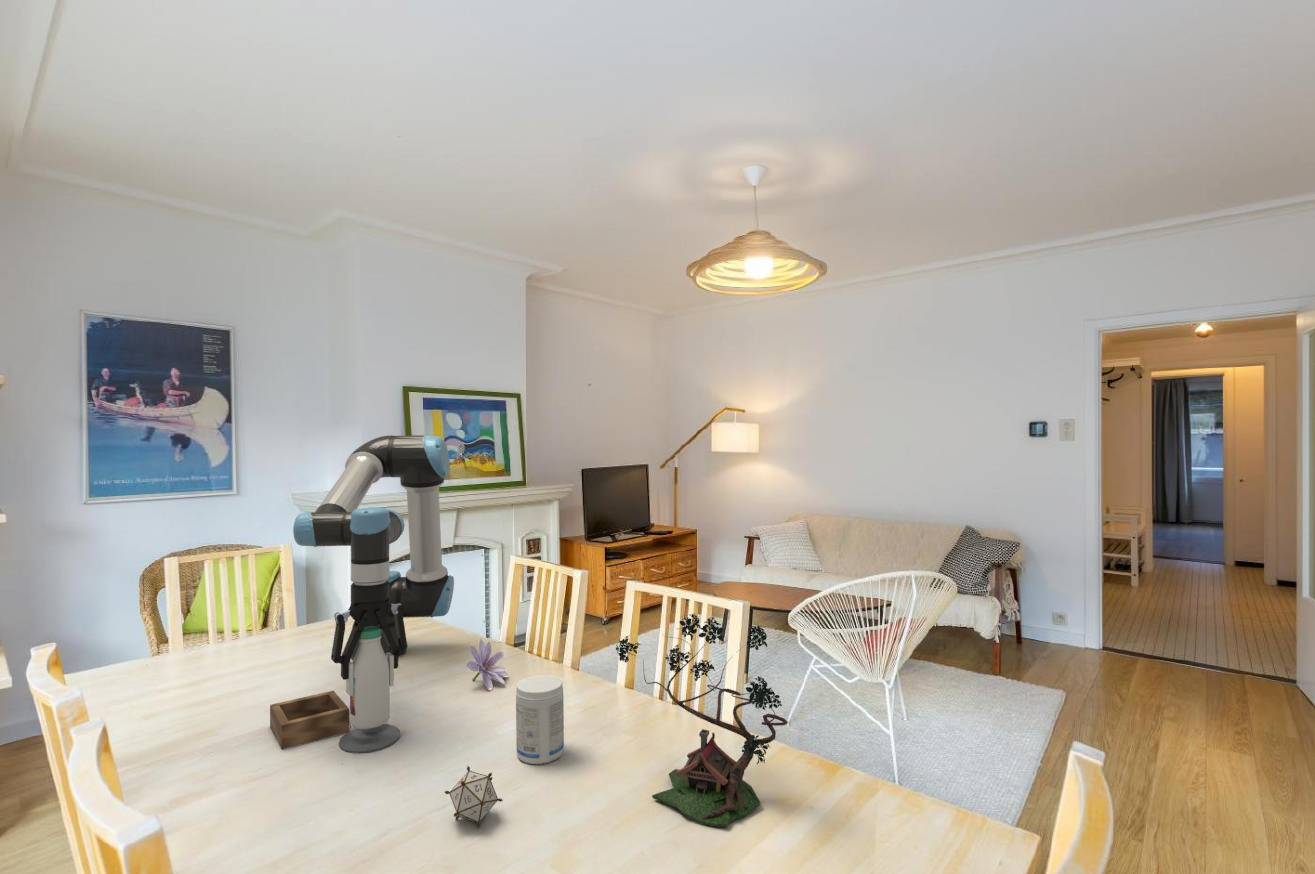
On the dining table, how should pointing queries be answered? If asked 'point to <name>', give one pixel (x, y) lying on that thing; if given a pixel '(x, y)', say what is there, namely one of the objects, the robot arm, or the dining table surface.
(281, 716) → the walnut pocket
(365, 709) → the milk bottle
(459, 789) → the game die
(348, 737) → the slate coaster
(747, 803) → the bonsai tree
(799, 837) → the dining table surface
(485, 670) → the water lily
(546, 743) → the supplement tub
